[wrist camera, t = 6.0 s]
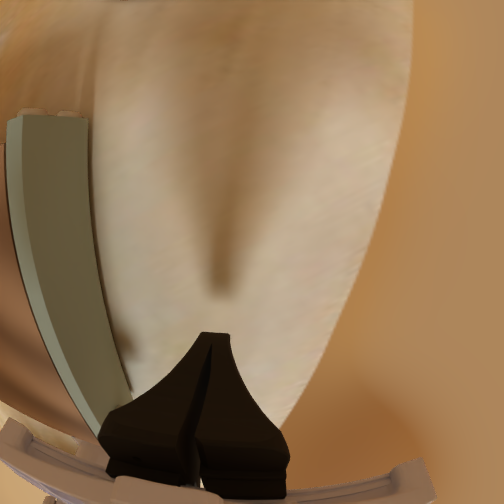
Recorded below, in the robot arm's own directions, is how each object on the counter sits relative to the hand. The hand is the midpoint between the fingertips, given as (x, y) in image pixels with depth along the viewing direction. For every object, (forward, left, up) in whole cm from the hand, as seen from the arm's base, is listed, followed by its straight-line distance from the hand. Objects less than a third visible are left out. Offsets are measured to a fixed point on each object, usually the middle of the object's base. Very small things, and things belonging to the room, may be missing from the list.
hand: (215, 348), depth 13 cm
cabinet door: (+2, +6, -1) cm, 7 cm away
